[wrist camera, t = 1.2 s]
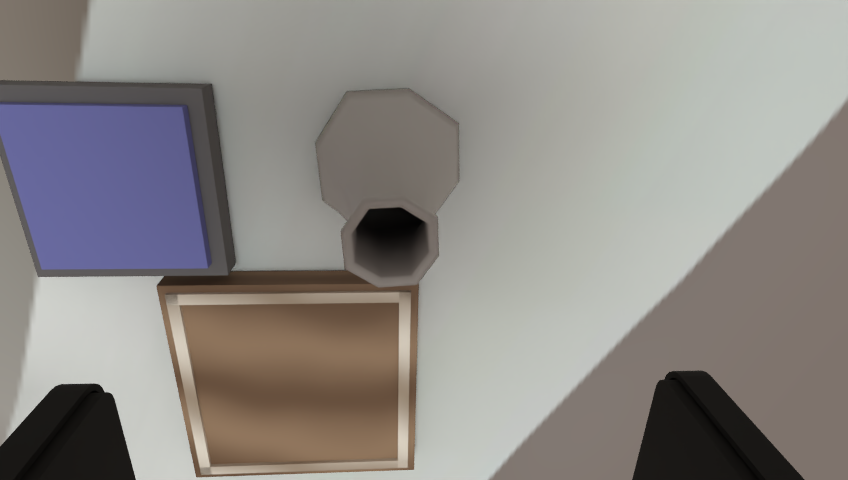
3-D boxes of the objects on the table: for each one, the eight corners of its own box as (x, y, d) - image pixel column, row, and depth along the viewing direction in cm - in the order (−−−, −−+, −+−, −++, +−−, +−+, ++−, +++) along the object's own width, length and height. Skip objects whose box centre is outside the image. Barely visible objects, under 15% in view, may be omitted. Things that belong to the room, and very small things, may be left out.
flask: (438, 242, 27) (464, 358, 18) (301, 209, 26) (256, 317, 17) (481, 108, 25) (538, 166, 15) (331, 65, 23) (297, 100, 14)
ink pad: (1, 80, 23) (-33, 86, 21) (211, 84, 23) (196, 90, 21) (55, 263, 26) (30, 282, 24) (235, 262, 27) (224, 281, 25)
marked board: (168, 271, 27) (154, 287, 25) (417, 270, 28) (418, 285, 26) (204, 457, 32) (195, 480, 31) (412, 450, 33) (414, 472, 31)
